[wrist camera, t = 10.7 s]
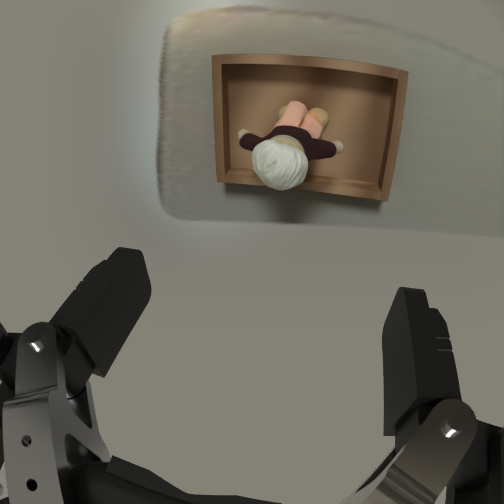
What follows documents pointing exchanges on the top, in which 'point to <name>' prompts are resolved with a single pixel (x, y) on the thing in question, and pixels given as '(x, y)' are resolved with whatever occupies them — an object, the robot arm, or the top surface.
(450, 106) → the top surface
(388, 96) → the walnut tray
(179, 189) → the top surface
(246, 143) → the grandmother figurine
